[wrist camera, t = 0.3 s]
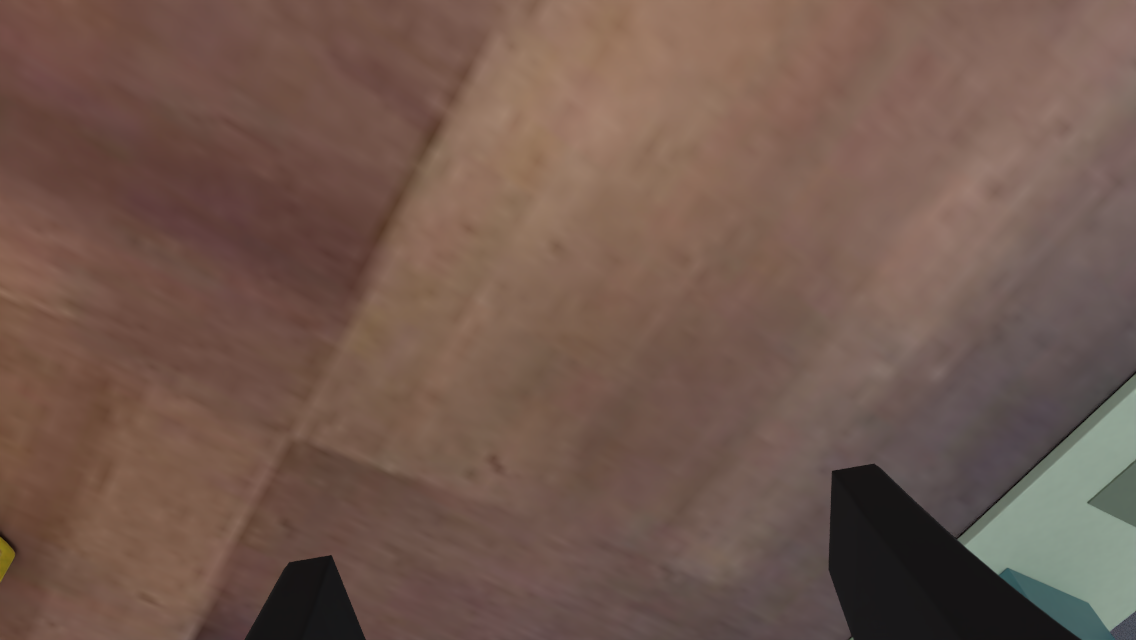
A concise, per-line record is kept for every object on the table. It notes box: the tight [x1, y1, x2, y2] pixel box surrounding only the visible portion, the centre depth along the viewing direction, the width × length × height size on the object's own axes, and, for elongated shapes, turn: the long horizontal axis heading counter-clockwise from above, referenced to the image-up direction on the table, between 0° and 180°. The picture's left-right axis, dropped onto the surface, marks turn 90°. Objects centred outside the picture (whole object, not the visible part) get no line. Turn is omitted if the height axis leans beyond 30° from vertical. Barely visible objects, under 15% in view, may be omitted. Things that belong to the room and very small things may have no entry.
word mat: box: [850, 374, 1136, 640], centre depth 30 cm, size 20×8×1 cm, turn 149°
